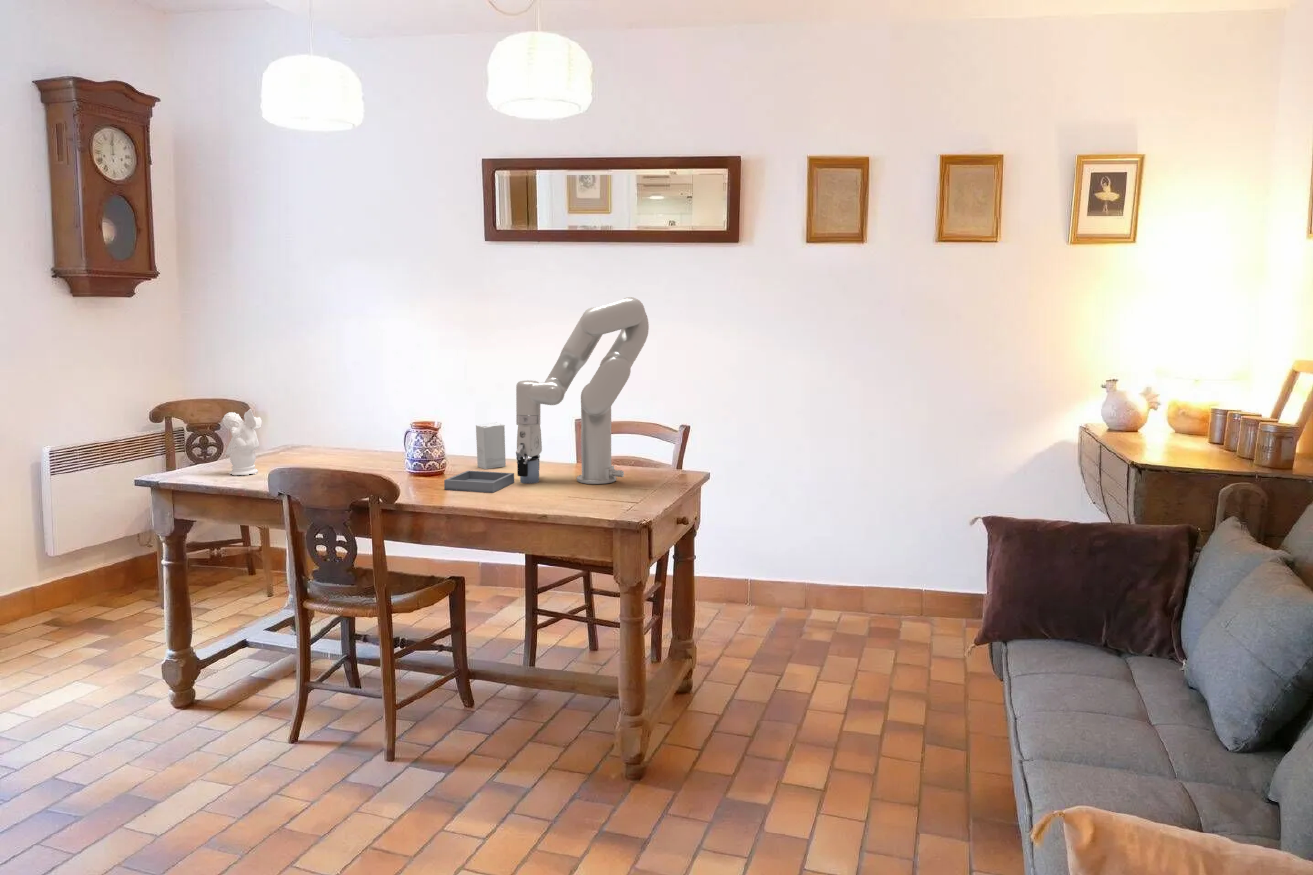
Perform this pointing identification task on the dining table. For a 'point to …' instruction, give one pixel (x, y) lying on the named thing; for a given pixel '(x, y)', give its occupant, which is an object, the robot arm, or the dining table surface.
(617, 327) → the robot arm
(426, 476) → the dining table surface
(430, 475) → the dining table surface
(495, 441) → the skincare box
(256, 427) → the cherub figurine
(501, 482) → the tray
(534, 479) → the cup
